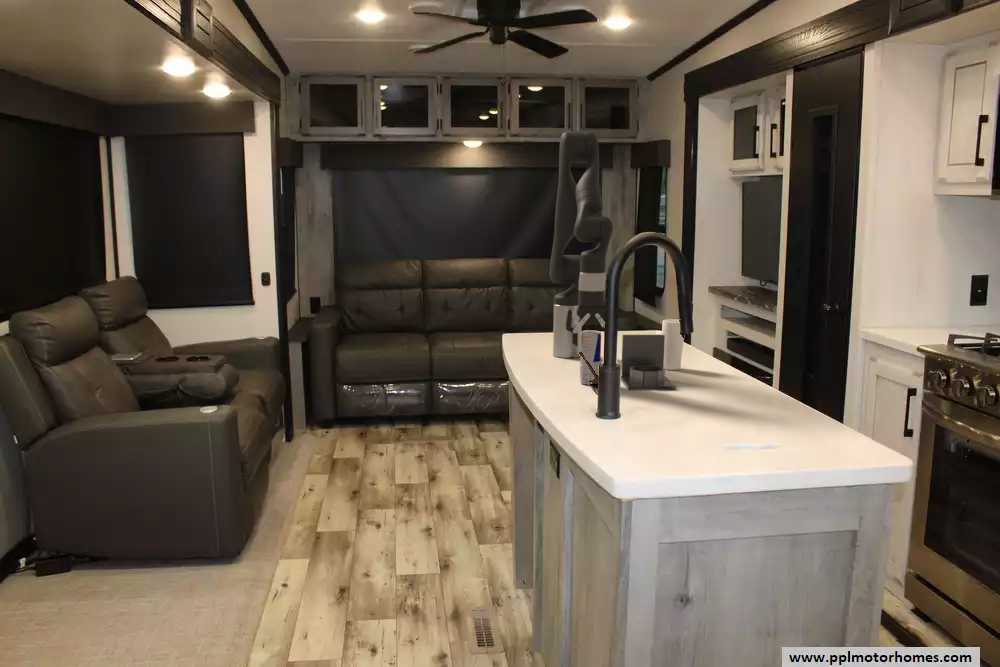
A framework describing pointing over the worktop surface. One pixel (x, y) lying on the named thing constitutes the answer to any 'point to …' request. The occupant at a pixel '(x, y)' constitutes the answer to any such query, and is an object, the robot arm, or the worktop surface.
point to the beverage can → (590, 354)
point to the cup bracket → (644, 363)
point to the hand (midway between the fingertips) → (590, 346)
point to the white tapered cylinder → (672, 344)
